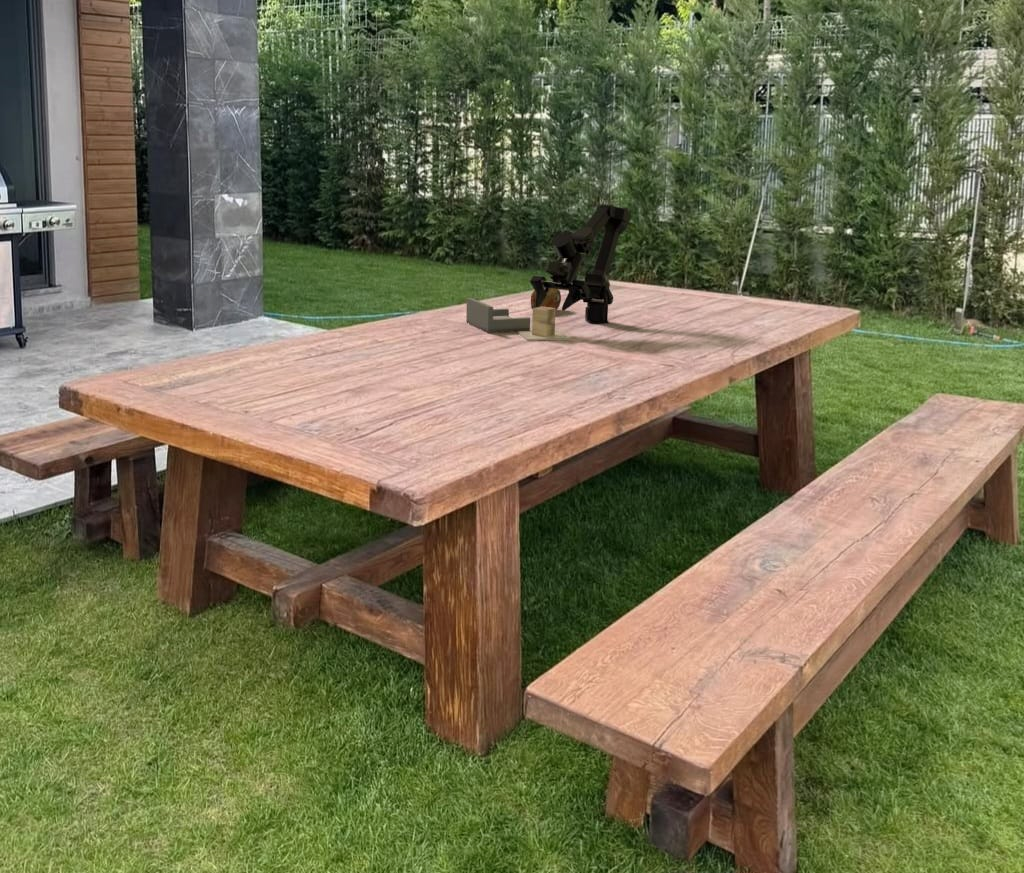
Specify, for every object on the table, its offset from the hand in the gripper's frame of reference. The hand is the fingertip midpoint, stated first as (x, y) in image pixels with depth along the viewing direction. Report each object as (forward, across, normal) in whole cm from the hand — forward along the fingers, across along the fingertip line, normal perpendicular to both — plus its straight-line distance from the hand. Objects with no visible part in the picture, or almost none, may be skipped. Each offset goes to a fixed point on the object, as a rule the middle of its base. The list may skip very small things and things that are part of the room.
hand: (549, 308), depth 335 cm
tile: (+8, 0, +4) cm, 9 cm away
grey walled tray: (+4, -20, +7) cm, 22 cm away
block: (+8, 0, +3) cm, 8 cm away
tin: (-20, -24, +33) cm, 46 cm away
